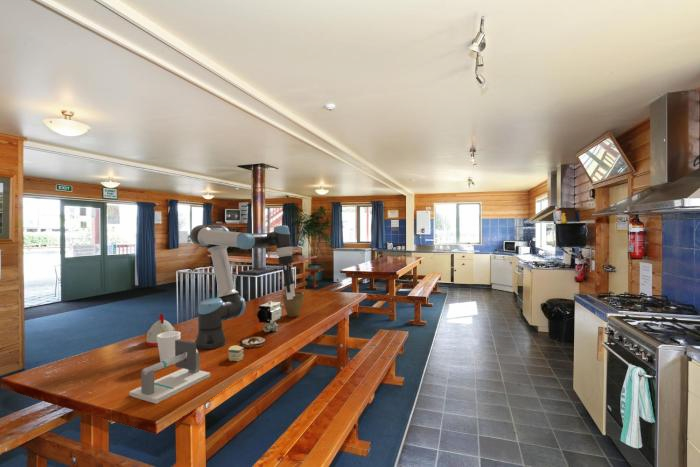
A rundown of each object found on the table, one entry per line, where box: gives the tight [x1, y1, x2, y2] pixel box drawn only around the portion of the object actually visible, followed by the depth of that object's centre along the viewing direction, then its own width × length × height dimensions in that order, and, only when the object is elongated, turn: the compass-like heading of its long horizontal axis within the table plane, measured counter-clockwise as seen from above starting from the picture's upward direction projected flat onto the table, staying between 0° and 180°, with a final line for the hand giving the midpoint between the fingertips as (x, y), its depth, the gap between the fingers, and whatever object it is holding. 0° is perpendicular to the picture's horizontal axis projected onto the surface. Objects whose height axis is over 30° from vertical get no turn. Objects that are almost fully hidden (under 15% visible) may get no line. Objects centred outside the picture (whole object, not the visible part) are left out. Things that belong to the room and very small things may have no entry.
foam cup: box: [157, 330, 182, 366], centre depth 152 cm, size 10×9×13 cm
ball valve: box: [256, 300, 283, 333], centre depth 201 cm, size 18×8×18 cm, turn 163°
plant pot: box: [282, 290, 304, 318], centre depth 238 cm, size 15×15×16 cm
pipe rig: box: [128, 348, 211, 405], centre depth 130 cm, size 14×24×11 cm, turn 156°
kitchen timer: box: [145, 313, 176, 347], centre depth 182 cm, size 14×14×15 cm
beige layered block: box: [227, 344, 245, 362], centre depth 157 cm, size 10×9×6 cm
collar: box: [174, 339, 197, 370], centre depth 136 cm, size 10×2×11 cm, turn 66°
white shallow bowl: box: [241, 336, 267, 349], centre depth 178 cm, size 15×15×4 cm
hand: (291, 297), depth 169 cm, fingers open, 13 cm apart
